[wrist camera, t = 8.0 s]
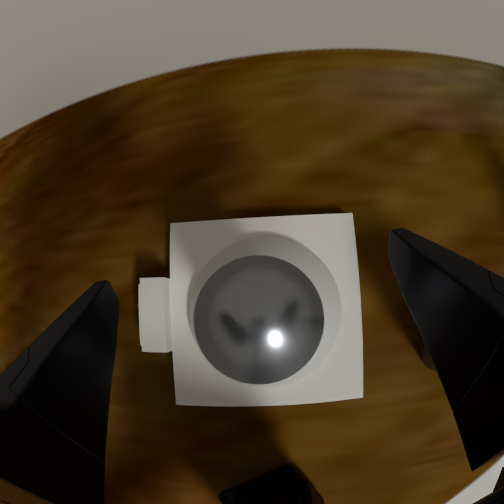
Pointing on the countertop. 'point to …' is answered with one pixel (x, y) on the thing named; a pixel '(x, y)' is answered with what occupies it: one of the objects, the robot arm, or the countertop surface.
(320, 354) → the scale
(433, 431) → the countertop surface
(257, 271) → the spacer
